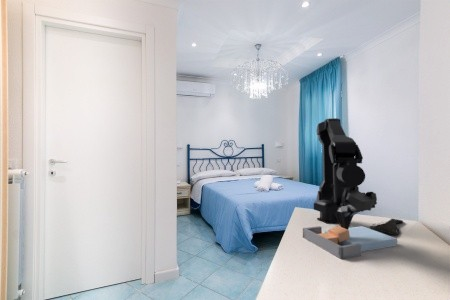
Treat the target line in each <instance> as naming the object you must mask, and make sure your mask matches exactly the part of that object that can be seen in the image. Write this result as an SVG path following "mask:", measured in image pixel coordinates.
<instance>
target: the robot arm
mask: <svg viewBox="0 0 450 300" xmlns="http://www.w3.org/2000/svg"><path fill="white" fill-rule="evenodd" d="M316 135H317V136H318V137H317V139H318V141H319V143H320V144H321V145H322V182H321V184H319V187H318V191H317V194H316V200H315V201H314V202H313V210H314V211H317V212H319V217H317V218H316V220H318V221H321V222H323V223H325V224H334V223H336V224H337V223H338V224H339V226H340V227H342V228H345V229H349V228H350V226H351V223H352V220H353V218H354V216H355V215H357V214H358V213H360V212H361V213H362V212H364V211H372V209H375V208H376V205H377V204H378V203H377V201H378V199H377V197H378V196H377V193H376V192H374V191H367V192H366V193H365V192H361V191H360V190H359V189H360V188H359V186H360V185H362V184H363V183H364V182H365V179H366V173H365V171H364V170H363V168H362V167H361V166H359V165H358V164H362V163H363V159H364V158H363V154H362V152H361V149H360V148H359V145H358V144H357V143H356V141H355V139H354V138H352V137H349V136H347V135H346V132H345V131H344V129H343V126H342V122H341V119H340V118H338V117H337V118H334V117H333V118H325V120H324V121H321V122H320V123H318V124H317V125H316Z"/></svg>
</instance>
